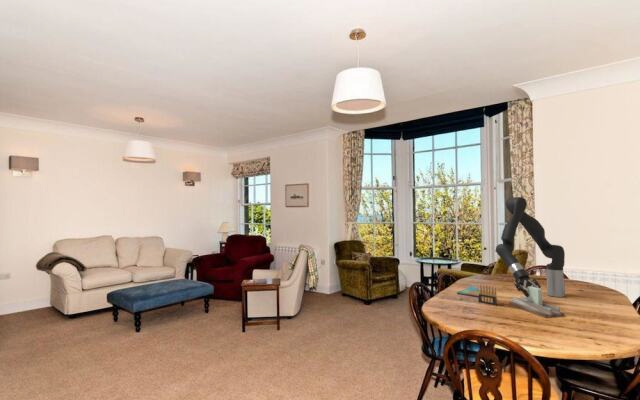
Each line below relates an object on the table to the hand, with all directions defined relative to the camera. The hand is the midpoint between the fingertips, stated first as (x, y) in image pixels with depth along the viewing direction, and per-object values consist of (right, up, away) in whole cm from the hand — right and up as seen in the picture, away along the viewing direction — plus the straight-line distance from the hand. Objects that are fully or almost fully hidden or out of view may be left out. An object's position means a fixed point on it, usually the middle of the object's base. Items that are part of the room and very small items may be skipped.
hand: (534, 295), depth 199 cm
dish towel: (-15, -10, +41) cm, 45 cm away
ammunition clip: (-20, -9, +15) cm, 26 cm away
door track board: (0, -8, 0) cm, 8 cm away
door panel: (0, -6, 0) cm, 6 cm away
